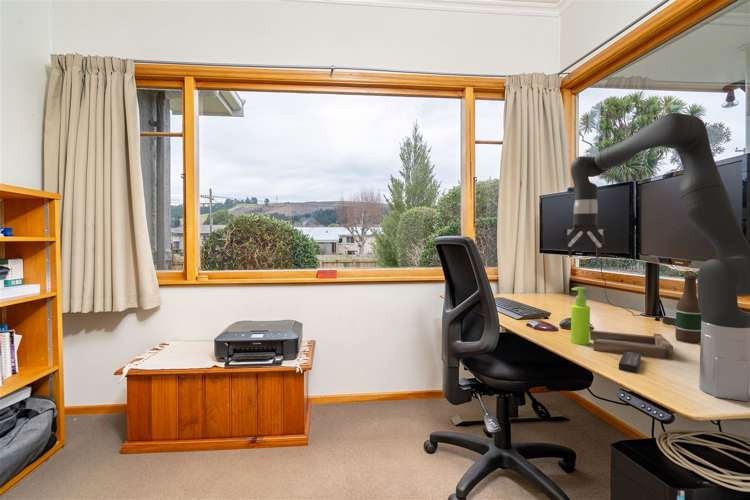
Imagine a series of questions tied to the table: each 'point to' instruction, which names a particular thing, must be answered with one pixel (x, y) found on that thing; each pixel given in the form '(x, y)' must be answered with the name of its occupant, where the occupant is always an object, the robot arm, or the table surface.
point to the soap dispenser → (580, 319)
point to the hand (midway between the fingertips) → (583, 257)
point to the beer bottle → (688, 314)
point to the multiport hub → (630, 362)
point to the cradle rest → (632, 344)
